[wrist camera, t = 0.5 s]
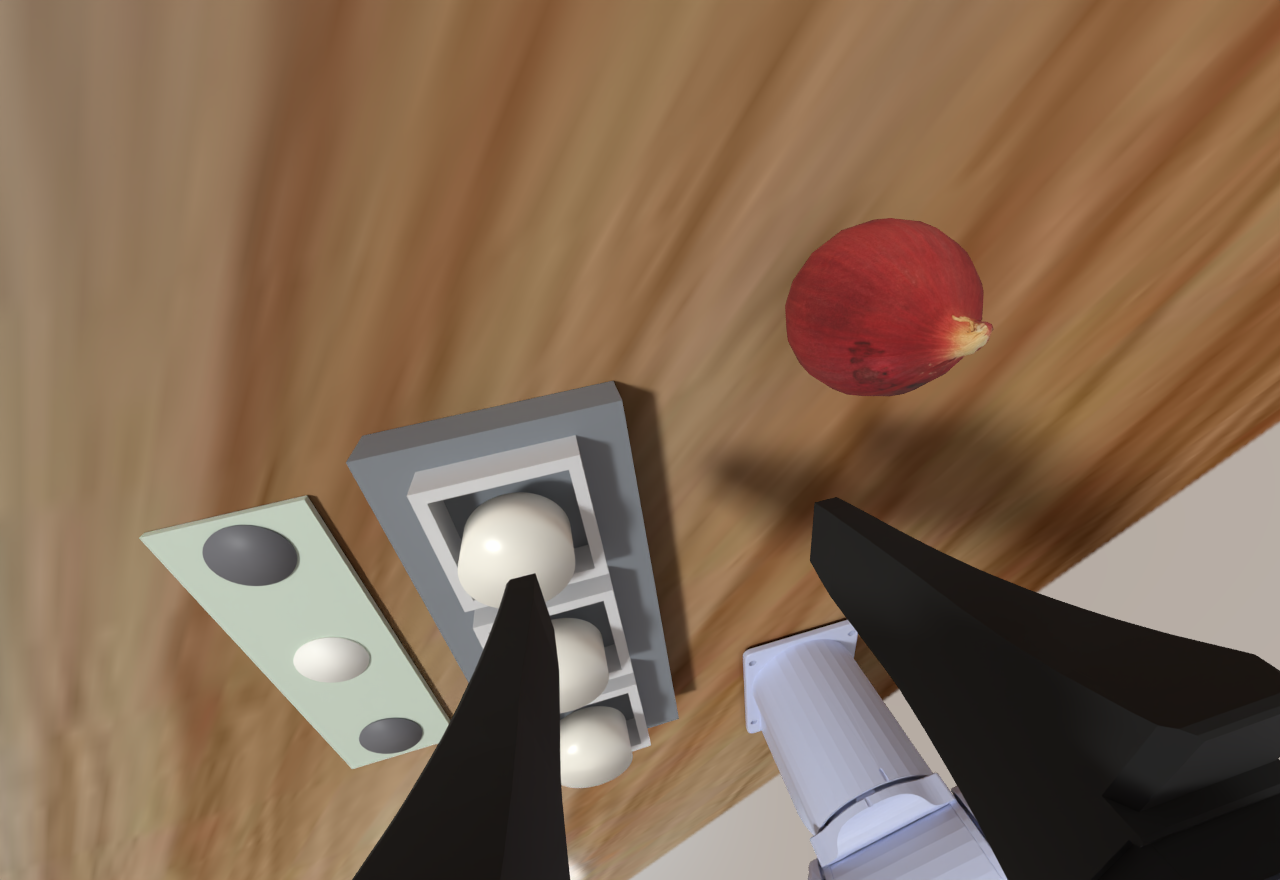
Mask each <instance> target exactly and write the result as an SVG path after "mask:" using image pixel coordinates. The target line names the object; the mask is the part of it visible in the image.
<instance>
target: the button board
mask: <svg viewBox="0 0 1280 880" xmlns="http://www.w3.org/2000/svg"><path fill="white" fill-rule="evenodd" d="M346 463H347V465H348V467H349V469H350V471H351V472H352V474H353V476H354V478H355V480H356V481H357V483H358V485H359V487H360V489H361V490H362V492H363V494H364V496H365V498H366V499H367V501H368V503H369V505H370V506H371V508H372V510H373V512H374V514H375V515H376V517H377V519H378V521H379V523H380V524H381V526H382V528H383V530H384V532H385V533H386V535H387V537H388V539H389V541H390V542H391V544H392V546H393V548H394V550H395V551H396V553H397V555H398V557H399V559H400V560H401V562H402V564H403V566H404V568H405V569H406V571H407V573H408V575H409V576H410V578H411V580H412V582H413V584H414V585H415V587H416V589H417V591H418V593H419V594H420V596H421V598H422V600H423V602H424V603H425V605H426V607H427V609H428V611H429V612H430V614H431V616H432V618H433V620H434V621H435V623H436V625H437V627H438V629H439V630H440V632H441V634H442V636H443V638H444V639H445V641H446V643H447V645H448V646H449V648H450V650H451V652H452V654H453V655H454V657H455V659H456V661H457V663H458V664H459V666H460V668H461V670H462V672H463V673H464V675H465V677H466V679H467V681H468V682H470V679H471V677H472V675H473V673H474V671H475V668H476V666H477V664H478V661H479V659H480V656H481V654H482V651H483V649H484V647H485V644H486V642H487V639H488V637H489V634H490V632H491V629H492V626H493V623H494V621H495V618H496V615H497V612H498V609H499V608H494V607H490V606H487V605H485V604H482V603H480V602H478V601H477V600H475V599H474V598H472V597H471V596H470V595H469V594H468V593H467V592H466V591H465V590H464V588H463V587H462V585H461V583H460V581H459V577H458V562H459V556H460V550H461V544H462V537H463V532H464V527H465V524H466V521H467V520H468V518H469V516H470V515H471V514H472V512H473V511H474V510H475V509H476V508H477V507H479V506H480V505H481V504H483V503H484V502H486V501H488V500H489V499H492V498H494V497H496V496H500V495H503V494H508V493H516V492H524V493H533V494H537V495H541V496H543V497H546V498H548V499H550V500H552V501H553V502H555V503H556V504H557V505H559V506H560V507H561V508H562V509H563V511H564V512H565V513H566V515H567V517H568V519H569V522H570V526H571V533H572V540H573V547H574V554H575V571H574V574H573V576H572V578H571V580H570V582H569V583H568V585H567V586H566V587H565V588H564V589H563V590H562V591H561V592H560V593H559V594H558V595H556V596H555V597H554V598H552V599H550V600H548V601H547V602H545V603H546V606H547V609H548V612H549V615H550V618H551V620H553V619H559V618H576V619H581V620H585V621H587V622H589V623H591V624H593V625H594V626H595V627H596V628H597V629H598V630H599V631H600V633H601V635H602V639H603V644H604V650H605V655H606V661H607V667H608V672H609V680H608V684H607V686H606V688H605V689H604V691H603V692H602V693H601V694H600V695H599V696H598V697H597V698H596V699H595V700H594V701H592V702H590V703H589V704H587V705H585V706H583V707H581V708H579V709H576V710H573V711H569V712H565V713H560V720H561V719H563V718H564V717H566V716H567V715H569V714H571V713H573V712H575V711H577V710H580V709H584V708H588V707H594V706H606V707H611V708H615V709H617V710H619V711H620V712H621V713H622V714H623V715H624V716H625V719H626V724H627V729H628V734H629V740H630V745H631V750H632V751H635V750H638V749H641V748H644V747H647V746H651V743H650V738H649V734H648V730H647V728H650V727H654V726H657V725H660V724H663V723H666V722H670V721H673V720H676V719H679V718H678V712H677V706H676V701H675V695H674V689H673V684H672V678H671V673H670V667H669V661H668V656H667V650H666V644H665V639H664V633H663V628H662V622H661V616H660V611H659V605H658V599H657V594H656V588H655V582H654V577H653V571H652V566H651V560H650V554H649V549H648V543H647V537H646V532H645V526H644V521H643V515H642V509H641V504H640V498H639V492H638V487H637V481H636V475H635V470H634V464H633V459H632V453H631V447H630V442H629V436H628V430H627V425H626V419H625V413H624V408H623V402H622V399H621V397H620V394H619V392H618V390H617V388H616V386H615V383H614V381H610V382H605V383H601V384H596V385H592V386H587V387H582V388H578V389H573V390H569V391H564V392H560V393H555V394H551V395H546V396H542V397H537V398H532V399H528V400H523V401H519V402H514V403H510V404H505V405H501V406H496V407H492V408H487V409H482V410H478V411H473V412H469V413H464V414H460V415H455V416H451V417H446V418H442V419H437V420H432V421H428V422H423V423H419V424H414V425H410V426H405V427H401V428H396V429H392V430H387V431H382V432H378V433H373V434H369V435H364V436H362V437H361V439H360V441H359V442H358V444H357V446H356V447H355V449H354V450H353V452H352V454H351V455H350V457H349V459H348V460H347V462H346Z"/></svg>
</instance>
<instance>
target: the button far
mask: <svg viewBox="0 0 1280 880" xmlns="http://www.w3.org/2000/svg"><path fill="white" fill-rule="evenodd" d="M632 757H633V756H632V750H631V745H630V740H629V734H628V729H627V724H626V719H625V716H624V715H623V714H622V713H621V712H620V711H619V710H617V709H615V708H611V707H606V706H594V707H588V708H584V709H580V710H577V711H575V712H573V713H571V714H569V715H567V716H566V717H564V718H563V719H561V720H560V762H561V785H564V786H567V787H571V788H587V787H593V786H597V785H600V784H603V783H606V782H608V781H611V780H612V779H614V778H616V777H618V776H619V775H621V774H622V773H623V772H624V771H625V770H626V769H627V768H628V767H629V765H630V764H631V762H632Z"/></svg>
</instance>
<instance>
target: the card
mask: <svg viewBox="0 0 1280 880" xmlns="http://www.w3.org/2000/svg"><path fill="white" fill-rule="evenodd" d="M139 539H140V540H141V541H142V542H143V543H144V544H145V545H146V546H147V547H148V548H149V549H150V550H151V552H152V553H153V554H154V555H155V556H156V557H157V558H158V559H159V560H160V561H161V562H162V563H163V565H164V566H165V567H166V568H167V569H168V570H169V571H170V572H171V573H172V574H173V575H174V576H175V578H176V579H177V580H178V581H179V582H180V583H181V584H182V585H183V586H184V587H185V588H186V589H187V591H188V592H189V593H190V594H191V595H192V596H193V597H194V598H195V599H196V600H197V601H198V602H199V604H200V605H201V606H202V607H203V608H204V609H205V610H206V611H207V612H208V613H209V614H210V615H211V617H212V618H213V619H214V620H215V621H216V622H217V623H218V624H219V625H220V626H221V627H222V628H223V630H224V631H225V632H226V633H227V634H228V635H229V636H230V637H231V638H232V639H233V640H234V641H235V643H236V644H237V645H238V646H239V647H240V648H241V649H242V650H243V651H244V652H245V653H246V654H247V656H248V657H249V658H250V659H251V660H252V661H253V662H254V663H255V664H256V665H257V666H258V667H259V669H260V670H261V671H262V672H263V673H264V674H265V675H266V676H267V677H268V678H269V679H270V680H271V682H272V683H273V684H274V685H275V686H276V687H277V688H278V689H279V690H280V691H281V692H282V693H283V695H284V696H285V697H286V698H287V699H288V700H289V701H290V702H291V703H292V704H293V705H294V706H295V708H296V709H297V710H298V711H299V712H300V713H301V714H302V715H303V716H304V717H305V718H306V719H307V721H308V722H309V723H310V724H311V725H312V726H313V727H314V728H315V729H316V730H317V731H318V732H319V734H320V735H321V736H322V737H323V738H324V739H325V740H326V741H327V742H328V743H329V744H330V745H331V747H332V748H333V749H334V750H335V751H336V752H337V753H338V754H339V755H340V756H341V757H342V759H343V760H344V761H345V762H346V763H347V764H348V765H349V766H350V767H351V768H352V769H354V768H358V767H361V766H364V765H368V764H371V763H374V762H378V761H381V760H384V759H388V758H391V757H394V756H398V755H401V754H404V753H408V752H411V751H414V750H418V749H421V748H424V747H428V746H431V745H434V744H438V743H439V742H440V740H441V738H442V736H443V734H444V733H445V731H446V729H447V727H448V725H449V723H450V719H449V718H448V716H447V714H446V713H445V711H444V710H443V708H442V707H441V705H440V703H439V702H438V700H437V699H436V697H435V696H434V694H433V692H432V691H431V689H430V688H429V686H428V685H427V683H426V681H425V680H424V678H423V677H422V675H421V674H420V672H419V670H418V669H417V667H416V666H415V664H414V663H413V661H412V659H411V658H410V656H409V655H408V653H407V652H406V650H405V648H404V647H403V645H402V644H401V642H400V641H399V639H398V637H397V636H396V634H395V633H394V631H393V630H392V628H391V626H390V625H389V623H388V622H387V620H386V619H385V617H384V615H383V614H382V612H381V611H380V609H379V608H378V606H377V604H376V603H375V601H374V600H373V598H372V597H371V595H370V593H369V592H368V590H367V589H366V587H365V586H364V584H363V582H362V581H361V579H360V578H359V576H358V575H357V573H356V571H355V570H354V568H353V567H352V565H351V564H350V562H349V560H348V559H347V557H346V556H345V554H344V553H343V551H342V549H341V548H340V546H339V545H338V543H337V542H336V540H335V538H334V537H333V535H332V534H331V532H330V531H329V529H328V527H327V526H326V524H325V523H324V521H323V520H322V518H321V516H320V515H319V513H318V512H317V510H316V509H315V507H314V505H313V504H312V502H311V501H310V499H309V498H308V496H307V495H306V496H302V497H298V498H293V499H289V500H285V501H280V502H276V503H272V504H267V505H263V506H259V507H254V508H250V509H246V510H241V511H237V512H233V513H228V514H224V515H220V516H215V517H211V518H207V519H202V520H198V521H194V522H189V523H185V524H181V525H177V526H172V527H168V528H164V529H159V530H155V531H151V532H146V533H144V534H143V535H142V536H141V537H140V538H139Z"/></svg>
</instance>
